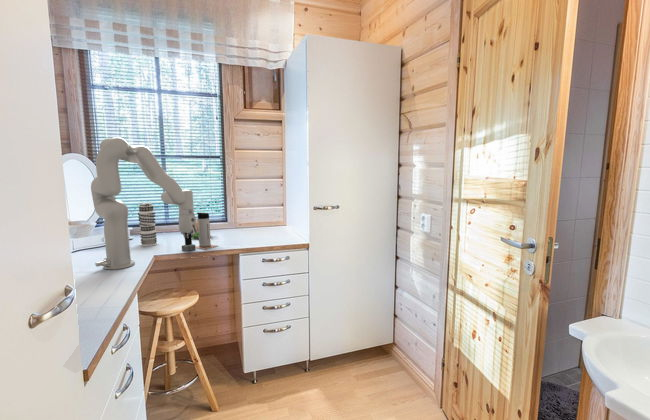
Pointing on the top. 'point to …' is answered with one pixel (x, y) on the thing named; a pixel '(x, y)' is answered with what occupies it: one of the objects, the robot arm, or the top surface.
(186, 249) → the button base
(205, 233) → the travel mug
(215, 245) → the picture square
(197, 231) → the turtle holder
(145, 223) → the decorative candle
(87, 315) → the top surface
